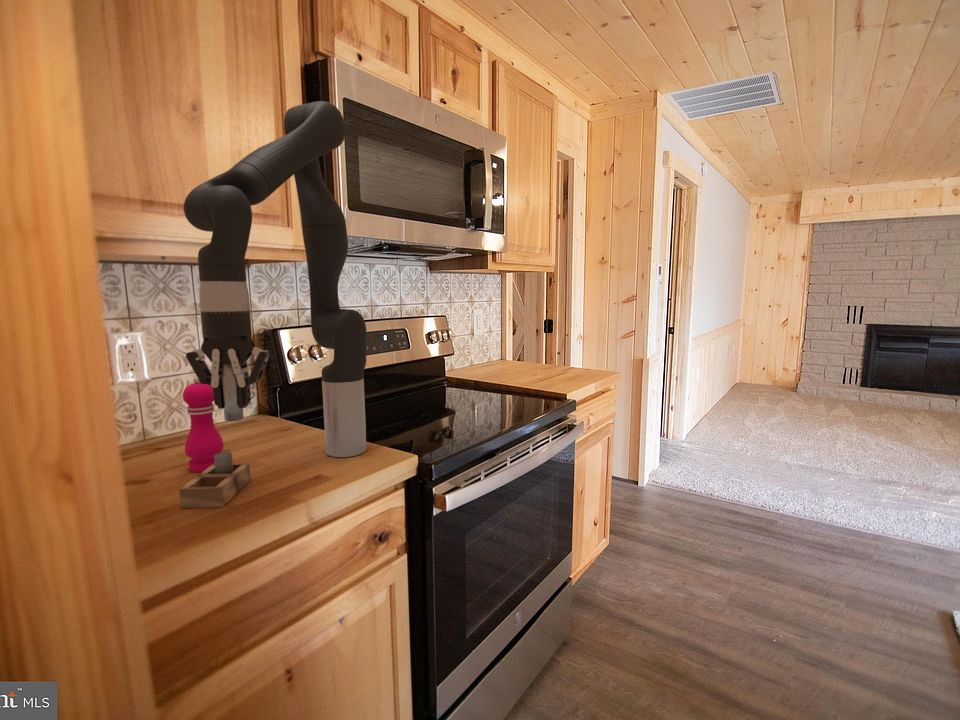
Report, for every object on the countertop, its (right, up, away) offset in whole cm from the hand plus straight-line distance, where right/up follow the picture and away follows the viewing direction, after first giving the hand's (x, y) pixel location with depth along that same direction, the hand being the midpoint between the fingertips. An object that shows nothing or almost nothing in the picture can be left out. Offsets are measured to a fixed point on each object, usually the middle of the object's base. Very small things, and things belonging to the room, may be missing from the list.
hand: (233, 406), depth 84 cm
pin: (0, -2, 0) cm, 2 cm away
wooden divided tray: (-6, -17, +6) cm, 18 cm away
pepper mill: (-15, -15, +19) cm, 29 cm away
